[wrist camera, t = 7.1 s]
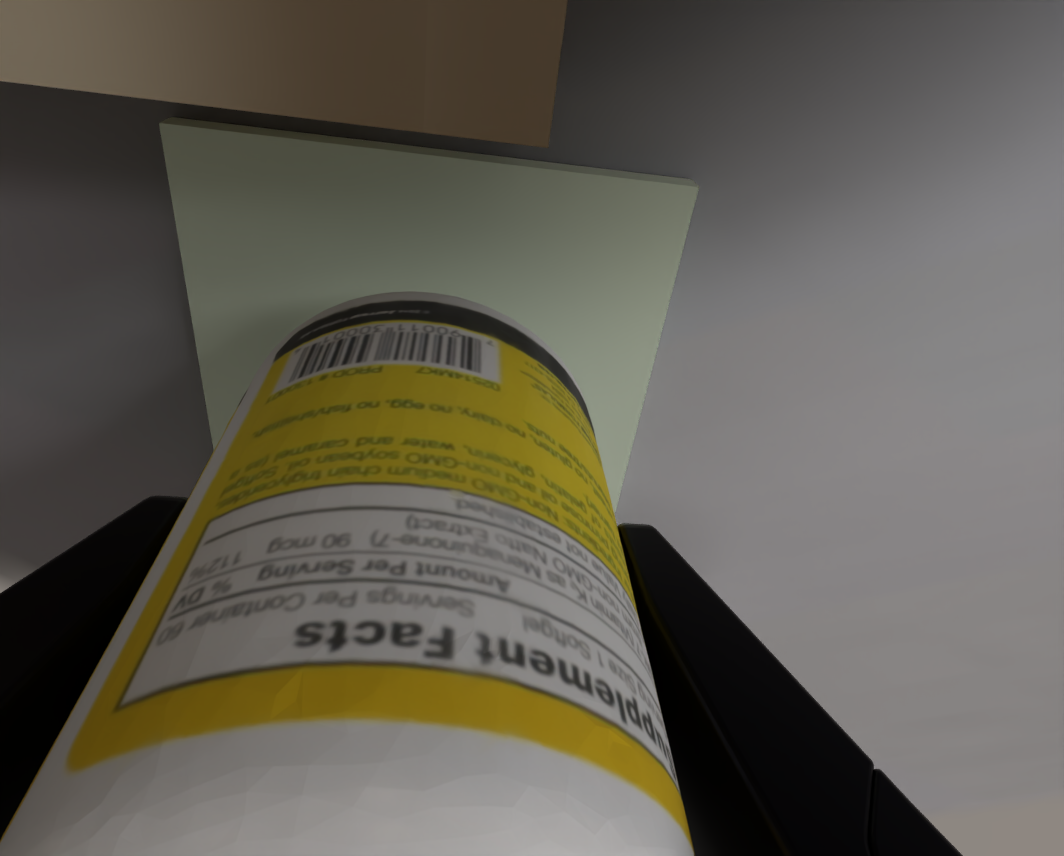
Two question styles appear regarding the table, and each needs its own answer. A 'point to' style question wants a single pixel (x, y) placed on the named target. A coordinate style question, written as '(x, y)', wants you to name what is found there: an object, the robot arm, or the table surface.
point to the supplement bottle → (379, 623)
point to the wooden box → (306, 58)
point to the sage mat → (423, 252)
